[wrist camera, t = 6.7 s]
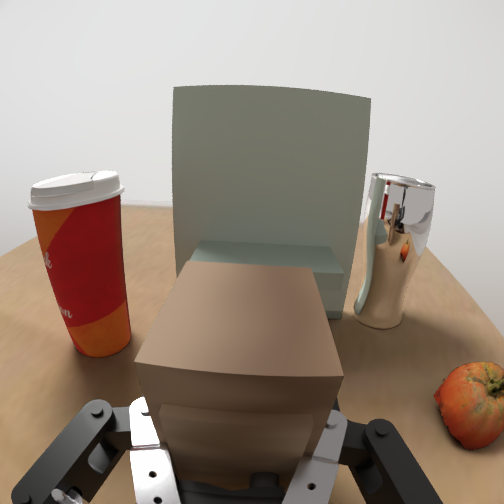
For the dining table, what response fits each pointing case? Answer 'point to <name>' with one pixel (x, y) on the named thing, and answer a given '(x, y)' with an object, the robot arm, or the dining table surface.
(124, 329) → the coffee cup
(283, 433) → the cabinet
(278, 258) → the wall board
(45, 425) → the dining table surface
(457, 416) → the tomato
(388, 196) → the beer glass
